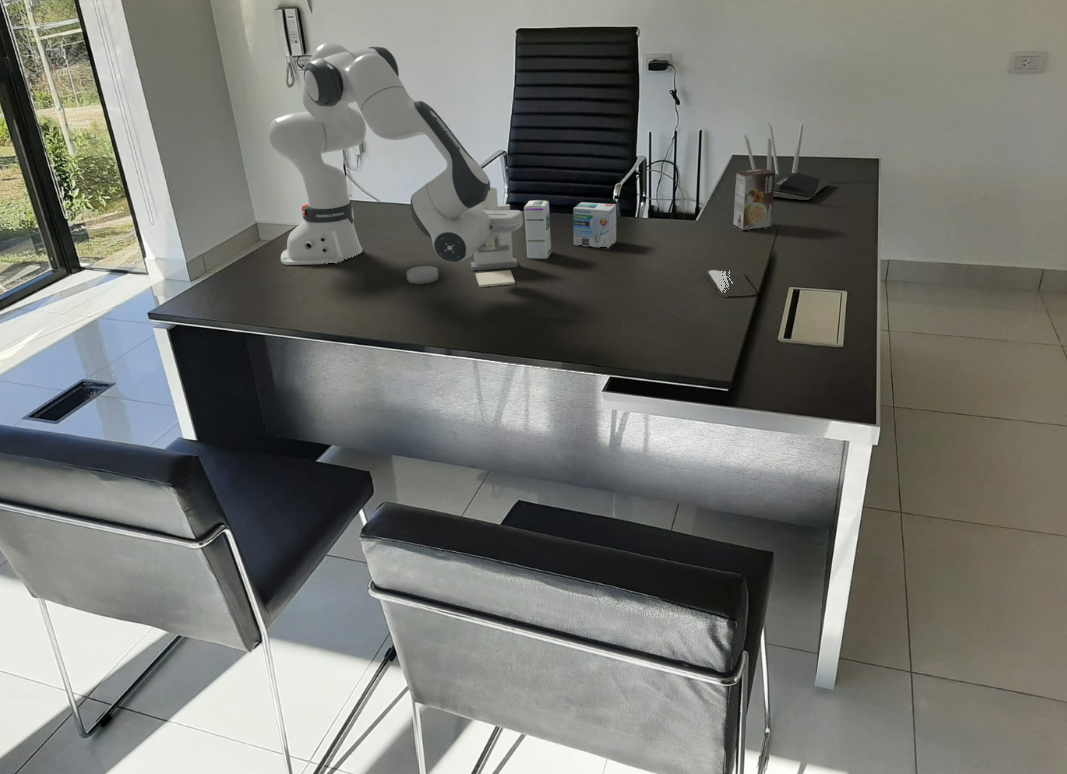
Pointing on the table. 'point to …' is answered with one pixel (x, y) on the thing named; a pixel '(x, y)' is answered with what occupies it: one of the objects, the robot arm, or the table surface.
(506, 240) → the breaker panel
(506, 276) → the pad
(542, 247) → the syrup box
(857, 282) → the table surface
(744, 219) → the coffee box
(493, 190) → the metal bottle
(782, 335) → the table surface
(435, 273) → the grey hockey puck
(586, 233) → the light bulb box
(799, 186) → the wireless router
